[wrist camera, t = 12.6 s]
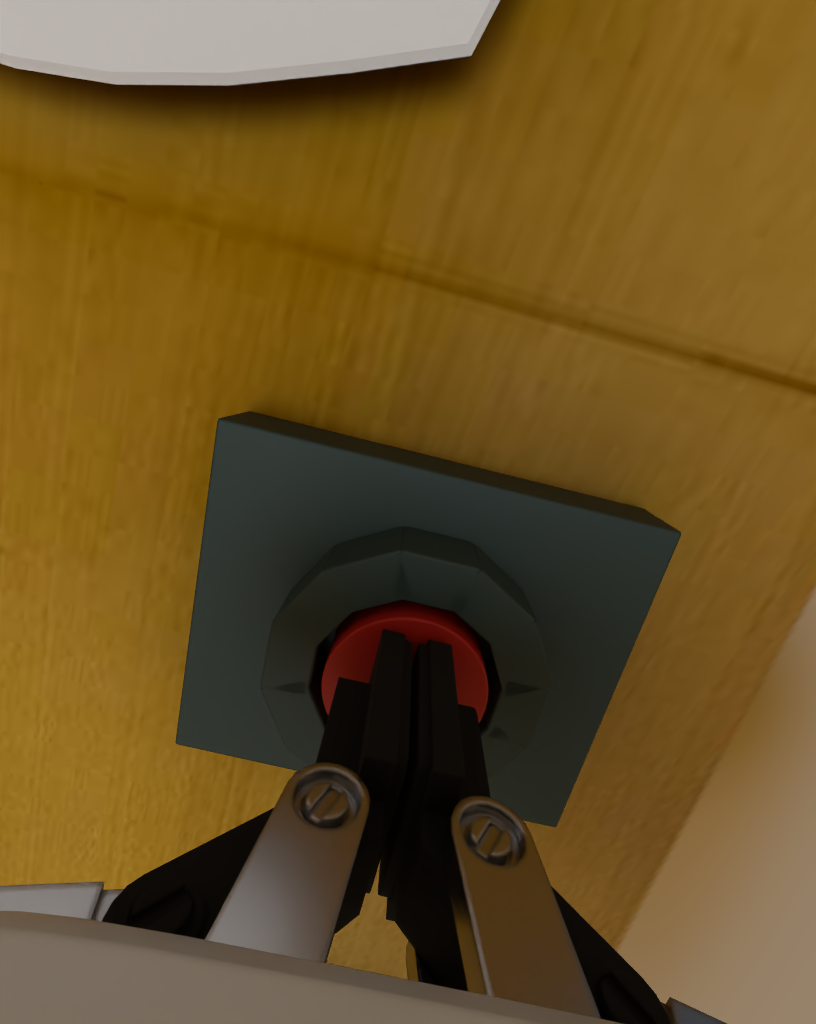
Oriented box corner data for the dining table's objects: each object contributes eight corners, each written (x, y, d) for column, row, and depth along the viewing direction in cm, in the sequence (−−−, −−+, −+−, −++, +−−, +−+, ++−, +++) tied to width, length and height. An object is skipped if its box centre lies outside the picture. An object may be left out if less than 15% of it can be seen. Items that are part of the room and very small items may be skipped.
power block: (645, 508, 14) (725, 559, 11) (540, 772, 17) (573, 888, 13) (247, 410, 14) (181, 425, 10) (205, 697, 17) (140, 794, 13)
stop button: (498, 604, 13) (510, 640, 11) (458, 728, 14) (463, 777, 12) (350, 569, 13) (339, 599, 11) (321, 696, 14) (307, 742, 12)
